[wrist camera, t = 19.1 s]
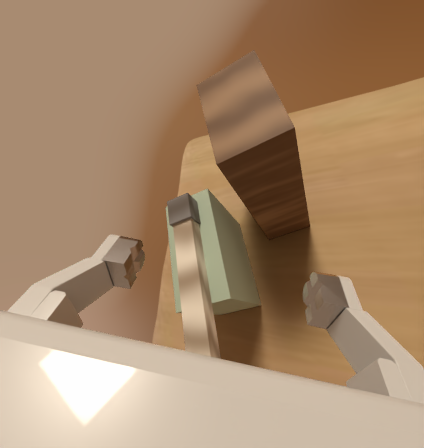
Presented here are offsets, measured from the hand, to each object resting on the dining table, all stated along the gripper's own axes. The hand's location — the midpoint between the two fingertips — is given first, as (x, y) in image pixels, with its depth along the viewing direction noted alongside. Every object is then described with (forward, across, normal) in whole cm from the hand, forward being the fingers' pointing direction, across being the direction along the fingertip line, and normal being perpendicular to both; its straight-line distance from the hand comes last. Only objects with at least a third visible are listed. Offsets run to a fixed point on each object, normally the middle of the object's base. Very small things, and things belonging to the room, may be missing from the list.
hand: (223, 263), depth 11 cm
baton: (+12, +3, +17) cm, 21 cm away
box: (+23, -2, +27) cm, 36 cm away
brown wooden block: (+34, -9, +17) cm, 39 cm away
